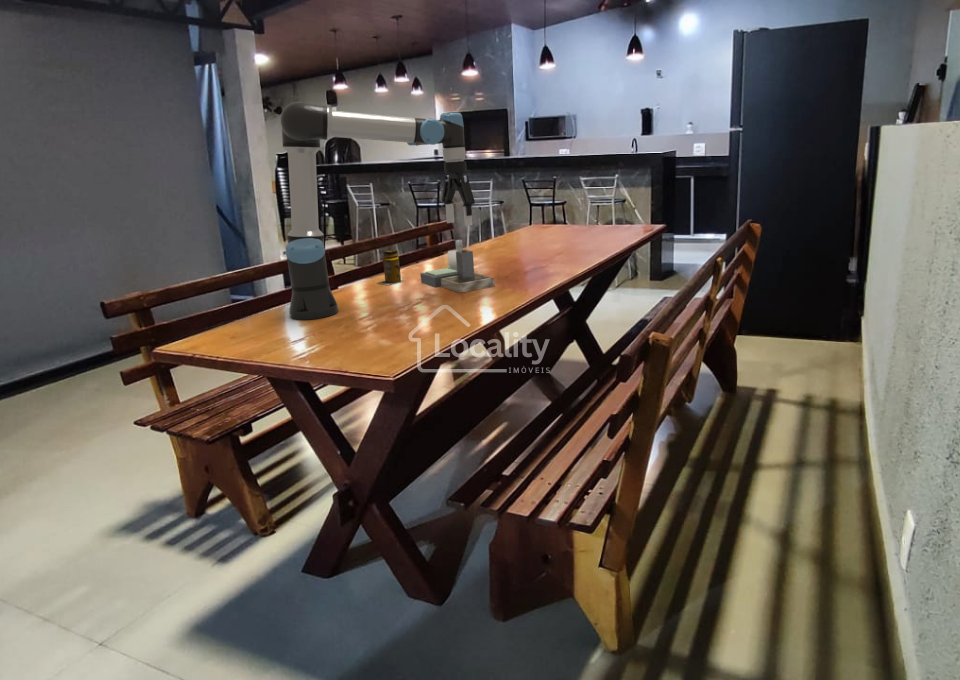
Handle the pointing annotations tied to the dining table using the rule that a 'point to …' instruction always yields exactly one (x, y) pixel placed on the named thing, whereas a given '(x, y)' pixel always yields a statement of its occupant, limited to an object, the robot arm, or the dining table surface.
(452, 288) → the trough
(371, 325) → the dining table surface
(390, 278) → the condiment
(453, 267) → the white bottle
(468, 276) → the cell
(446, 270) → the checker pad
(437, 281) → the checker base
